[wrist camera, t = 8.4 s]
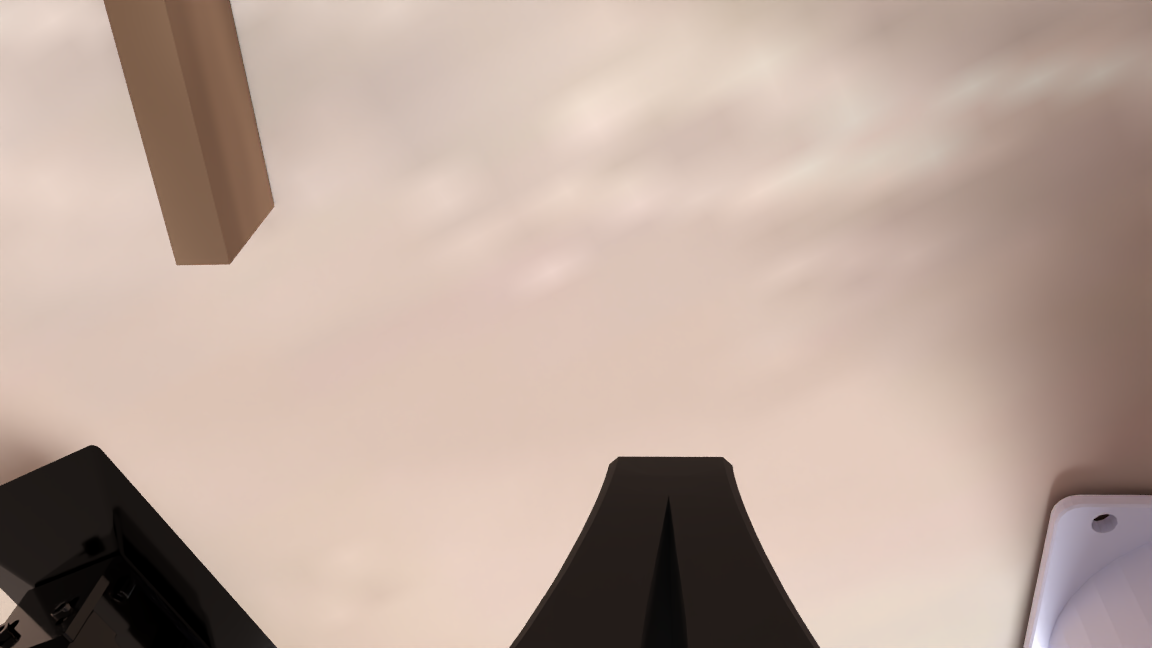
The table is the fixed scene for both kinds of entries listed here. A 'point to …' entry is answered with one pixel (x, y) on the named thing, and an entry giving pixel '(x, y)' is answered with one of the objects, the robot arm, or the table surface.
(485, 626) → the table surface
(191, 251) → the box
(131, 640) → the black angled piece
